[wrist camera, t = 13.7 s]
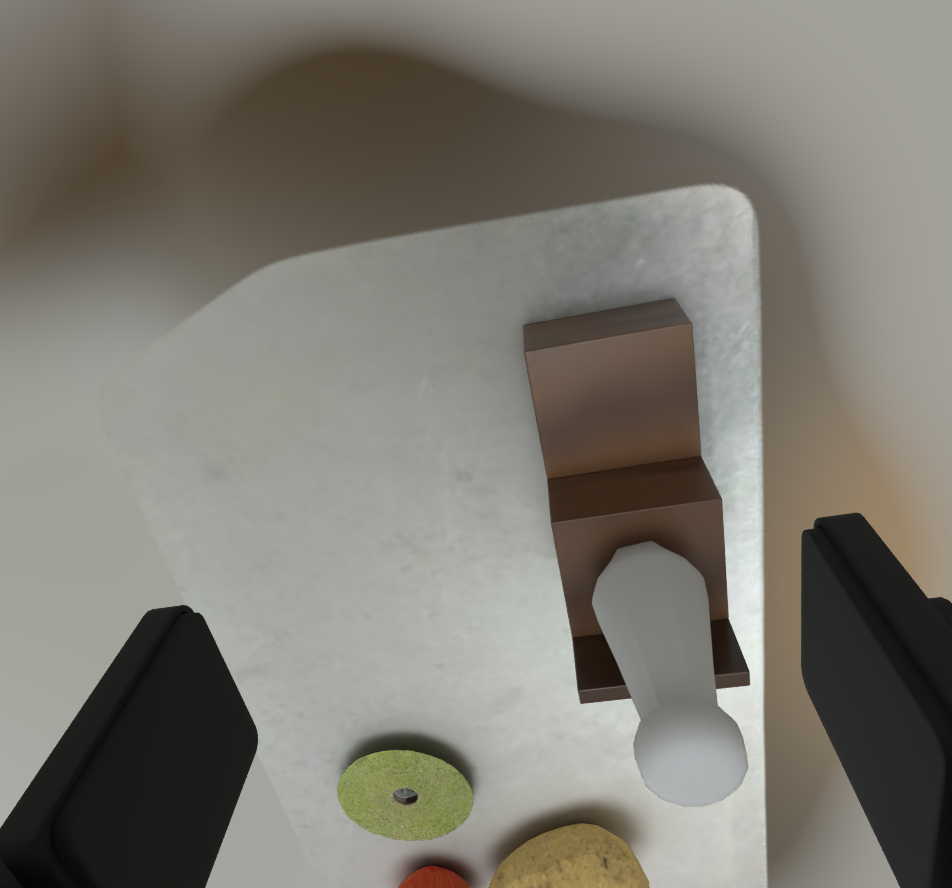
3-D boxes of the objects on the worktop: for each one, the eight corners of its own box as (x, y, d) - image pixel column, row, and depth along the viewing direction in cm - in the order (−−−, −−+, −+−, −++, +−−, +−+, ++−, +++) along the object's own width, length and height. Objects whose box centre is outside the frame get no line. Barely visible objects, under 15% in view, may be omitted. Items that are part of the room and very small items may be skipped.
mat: (318, 749, 60) (312, 769, 58) (442, 717, 58) (440, 737, 56) (377, 831, 65) (373, 852, 63) (494, 805, 62) (493, 826, 60)
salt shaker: (576, 541, 38) (604, 744, 27) (684, 515, 37) (762, 713, 26) (603, 622, 41) (640, 840, 29) (705, 600, 40) (784, 816, 28)
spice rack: (522, 325, 42) (526, 420, 31) (674, 297, 41) (738, 386, 30) (564, 557, 50) (580, 704, 38) (694, 540, 49) (750, 685, 37)
